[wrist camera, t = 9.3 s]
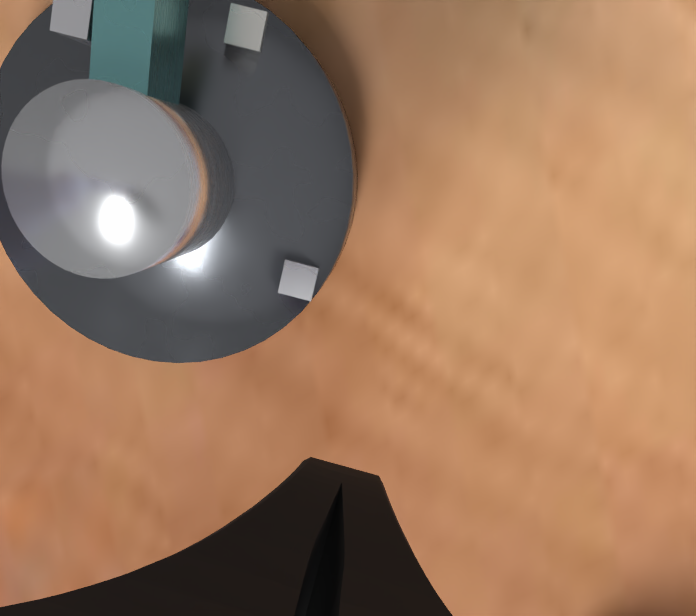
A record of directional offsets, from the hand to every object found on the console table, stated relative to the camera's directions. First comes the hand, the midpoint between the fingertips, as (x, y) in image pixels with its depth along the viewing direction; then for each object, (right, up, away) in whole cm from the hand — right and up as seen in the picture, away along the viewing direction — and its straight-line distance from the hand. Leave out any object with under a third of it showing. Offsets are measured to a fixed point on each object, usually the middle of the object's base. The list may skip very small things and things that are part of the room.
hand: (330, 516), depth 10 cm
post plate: (-5, +8, +8) cm, 12 cm away
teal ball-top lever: (-5, +10, +6) cm, 13 cm away
